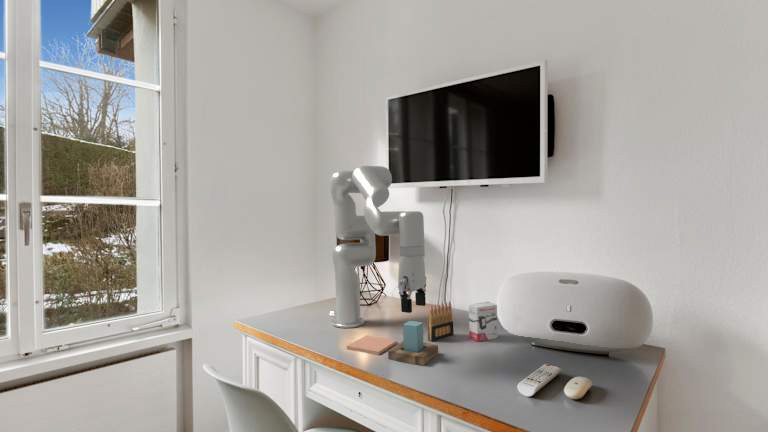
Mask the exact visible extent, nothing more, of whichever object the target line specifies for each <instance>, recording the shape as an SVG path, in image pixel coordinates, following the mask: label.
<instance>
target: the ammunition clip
mask: <svg viewBox="0 0 768 432" xmlns="http://www.w3.org/2000/svg"><path fill="white" fill-rule="evenodd" d="M428 317H429V318H428V319H429V320H428V321H429V325H428V326H427V327H428V329H427V330H428V334H427V336H428V339H427V340H428V341H429V342H436V341H439V340H442V339H443V340H444V339H446V338H449V337H453V336H455V334H454V321H453V311H452V304H451V301H448V302H445V303H443V302H442V303H441V305H440V303H438V304H437V305H436V304H434V305H430V308H429V316H428Z"/></svg>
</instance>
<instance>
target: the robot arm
mask: <svg viewBox="0 0 768 432" xmlns="http://www.w3.org/2000/svg"><path fill="white" fill-rule="evenodd" d="M392 176H393V175H392V172H391V171H390V169H388V168H387V167H386V166H382V165H380V166H379V165H360V166H357V167H356V168H355V169H354V170H340V171H336V172H334V173H333V174H331V176H330V181H329V191H330V195H331V199H332V203H333V209H334V211H333V213H334V229H335V230H334V231H335V235H336V238H337V239H339V240H342V241H351V240H352V241H353V240H359V241H360V242H351V243H350V242H349V243H341V244H338V245H336V246H335V247H334V248H333V250H332V252H331V253H332V255H331V257H332V262H333V266H334V275H335V277H334V278H335V279H334V280H335V283H334V284H335V310H330V311H329V314H328V316H329V317H330V318H333V320H332V322H331V323H332V326H334V327H337V328H342V329H343V328H344V329H345V328H347V329H350V328H351V329H352V328H357V327H361V326H363V325H364V324H365V319H364V318H362V317H361V295H360V294H361V285H360V284H361V281H360V280H361V278H360V276H359V274H358V273H357V271H356V270H355V269H354V268H358V267H366V266H371V265H373V264H374V262H375V261H376V256H377V255H376V254H377V253H376V251H377V249H376V246H377V245H376V235H377V236H381V237H385V236H398V238H399V243H398V244H399V260H398V261H399V262H398V274H397V275H398V276H397V277H398V279H397V280H398V281H397V282H398V283H397V288H398V294H399V299H400V304H401V305H400V306H401V312H402V313H408V314H412V312H413V306H412V301H413V299H412V298H411V296H412V293H413V292H415V294H414V295H415V305H416V306H420V307H421V306H422V307H425V306H426V304H427V303H426V301H427V300H426V293H427V292H426V291H427V289H426V287H427V276H426V268H425V267H426V265H425V256H426V255H425V254H426V253H425V224H424V223H425V222H424V221H425V220H424V219H425V218H424V215H423V214H424V213H423V212H421V211H415V210H413V211H412V210H411V211H403V210H401V211H400V210H399V211H398V210H397V211H394V210H393V211H381V210H380V209H379V207H381V206H383V205H384V204H385V203H386V202H387V201H388V199H389V198H390V190H389V188H390V187H391V185H392V181H393V177H392ZM350 194H361V195H362V196H363V199H364V200H365V202H364V204H363V215H357V207H356V203H355V201H354V199H353V198H352V196H351V195H350Z"/></svg>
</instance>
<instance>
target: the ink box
mask: <svg viewBox="0 0 768 432" xmlns="http://www.w3.org/2000/svg"><path fill="white" fill-rule="evenodd" d="M468 325H469V326H468V327H469V328H468V329H469V331H468V332H469V335H468V336H469V339H471V340H473V341H475V342H477V343H479V342H484V341H490V340H495V339H498V305H497V304H495V303H493V302H490V301H481V302H475V303H470V304H468Z"/></svg>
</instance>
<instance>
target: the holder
mask: <svg viewBox="0 0 768 432" xmlns="http://www.w3.org/2000/svg"><path fill="white" fill-rule="evenodd" d="M387 350H388V351H387V355H388V360H392V361H396V362H401V363H404V364H405V363H406V364H411V365H416V366H417V365H419V366H422V367H423V366H425V365H426V364H428V363H429V362H430V361H431V360H432V359H434V357H436V356H437V355H438V354H439V345H438V344H431V343H429V342H428V343H427V342H423V350H422V351H421V352H420V353H415V352H410V351H404V344H403V340H402V341H401V342H400V343H397V344H395V345H394V346H392V347H391V348H389V349H387Z"/></svg>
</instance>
